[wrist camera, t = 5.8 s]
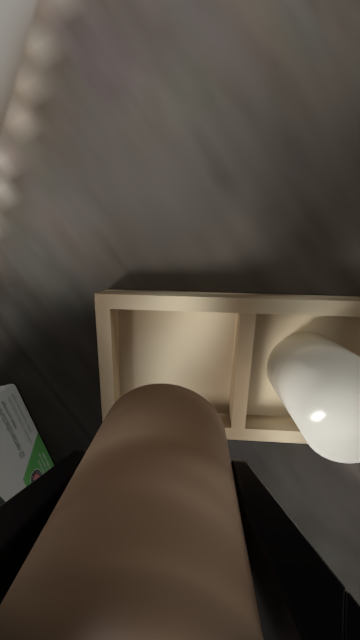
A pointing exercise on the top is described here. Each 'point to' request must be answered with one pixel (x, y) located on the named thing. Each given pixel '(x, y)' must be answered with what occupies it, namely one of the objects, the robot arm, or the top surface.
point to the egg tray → (214, 348)
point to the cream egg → (320, 392)
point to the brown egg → (142, 535)
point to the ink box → (18, 445)
